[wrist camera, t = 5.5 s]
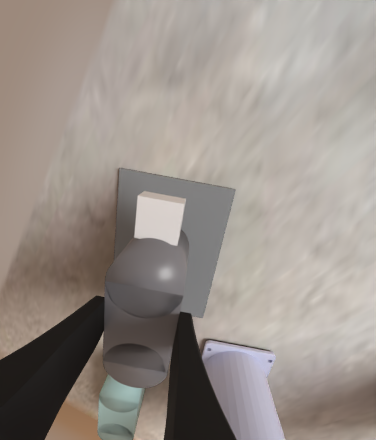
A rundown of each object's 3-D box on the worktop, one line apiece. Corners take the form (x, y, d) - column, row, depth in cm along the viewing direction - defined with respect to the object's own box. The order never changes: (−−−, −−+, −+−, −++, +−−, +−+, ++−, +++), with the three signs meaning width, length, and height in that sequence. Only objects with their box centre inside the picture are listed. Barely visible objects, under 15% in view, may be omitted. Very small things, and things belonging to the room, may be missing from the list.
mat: (202, 315, 21) (202, 318, 20) (112, 298, 21) (111, 301, 20) (234, 189, 16) (235, 189, 16) (121, 167, 16) (119, 168, 16)
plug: (173, 330, 16) (163, 392, 12) (127, 322, 16) (102, 381, 12) (200, 195, 12) (199, 217, 8) (139, 183, 12) (106, 200, 8)
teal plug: (118, 340, 23) (99, 382, 18) (151, 346, 23) (140, 390, 18) (113, 405, 26) (96, 452, 22) (141, 410, 26) (130, 459, 22)
